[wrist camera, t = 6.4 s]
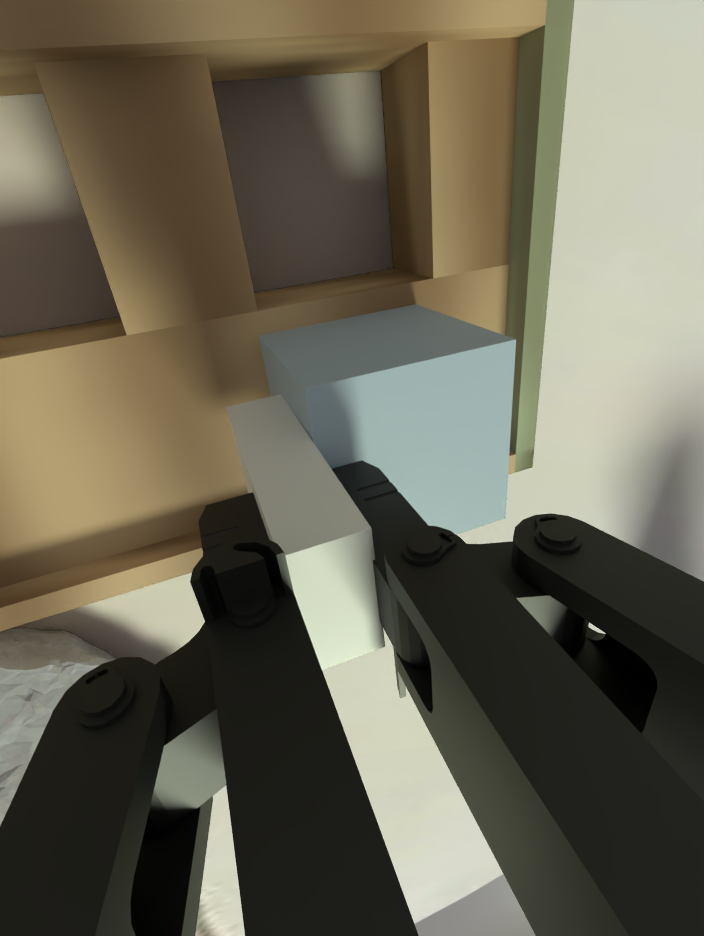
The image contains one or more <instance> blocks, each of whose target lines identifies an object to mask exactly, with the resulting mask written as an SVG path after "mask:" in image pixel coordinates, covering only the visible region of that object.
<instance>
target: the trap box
mask: <svg viewBox="0 0 704 936" xmlns="http://www.w3.org/2000/svg"><path fill="white" fill-rule="evenodd" d="M573 8H574V0H0V96H7V95H22V94H37V93H44V96H45V98H46V101H47V104H48V107H49V110H50V113H51V116H52V119H53V122H54V125H55V128H56V130H57V133H58V136H59V139H60V142H61V145H62V148H63V151H64V154H65V157H66V160H67V163H68V165H69V168H70V171H71V174H72V177H73V180H74V183H75V186H76V189H77V192H78V195H79V197H80V200H81V203H82V206H83V209H84V212H85V215H86V218H87V221H88V224H89V227H90V230H91V232H92V235H93V238H94V241H95V244H96V247H97V250H98V253H99V256H100V259H101V262H102V264H103V267H104V270H105V273H106V276H107V279H108V282H109V285H110V288H111V291H112V294H113V297H114V299H115V302H116V305H117V308H118V311H119V314H120V317H116V318H110V319H105V320H99V321H93V322H87V323H82V324H76V325H70V326H65V327H59V328H53V329H48V330H42V331H36V332H31V333H25V334H19V335H14V336H8V337H2V338H0V631H4V630H7V629H10V628H13V627H17V626H20V625H23V624H26V623H29V622H33V621H36V620H39V619H42V618H46V617H49V616H52V615H55V614H59V613H62V612H65V611H68V610H72V609H75V608H78V607H81V606H85V605H88V604H91V603H94V602H97V601H101V600H104V599H107V598H110V597H114V596H117V595H120V594H123V593H127V592H130V591H133V590H136V589H140V588H143V587H146V586H149V585H152V584H156V583H159V582H162V581H165V580H169V579H172V578H175V577H178V576H182V575H185V574H188V573H191V572H192V571H193V568H194V567H195V566H196V564H197V563H198V562H199V560H200V559H201V558H202V557H203V550H202V544H201V537H200V529H199V522H198V521H199V519H200V517H201V515H202V513H203V511H204V509H205V507H206V505H209V504H212V503H216V502H219V501H223V500H227V499H230V498H234V497H237V496H241V495H245V494H248V490H247V486H246V482H245V479H244V475H243V471H242V467H241V463H240V460H239V456H238V452H237V448H236V444H235V441H234V437H233V433H232V429H231V425H230V422H229V418H228V414H227V410H226V407H228V406H233V405H237V404H241V403H245V402H250V401H254V400H258V399H263V398H267V397H271V394H270V389H269V384H268V379H267V375H266V370H265V365H264V360H263V355H262V350H261V345H260V341H259V335H264V334H269V333H274V332H279V331H284V330H289V329H294V328H299V327H304V326H309V325H314V324H319V323H324V322H330V321H335V320H340V319H345V318H350V317H355V316H360V315H365V314H370V313H375V312H380V311H385V310H390V309H395V308H400V307H405V306H410V305H415V304H417V305H419V306H422V307H425V308H428V309H431V310H434V311H436V312H439V313H442V314H445V315H448V316H451V317H454V318H456V319H459V320H462V321H465V322H468V323H471V324H474V325H476V326H479V327H482V328H485V329H488V330H491V331H494V332H496V333H499V334H502V335H505V336H508V337H511V338H513V339H516V350H515V367H514V383H513V400H512V417H511V433H510V450H509V467H508V475H509V474H512V473H515V472H518V471H522V470H525V469H528V468H531V467H532V465H533V454H534V443H535V432H536V421H537V410H538V399H539V387H540V376H541V365H542V354H543V343H544V332H545V320H546V309H547V298H548V287H549V276H550V265H551V253H552V242H553V231H554V220H555V209H556V198H557V187H558V175H559V164H560V153H561V142H562V131H563V120H564V108H565V97H566V86H567V75H568V64H569V53H570V42H571V30H572V19H573ZM380 70H381V78H382V94H383V110H384V126H385V142H386V158H387V174H388V190H389V207H390V223H391V239H392V255H393V269H388V270H383V271H377V272H371V273H365V274H360V275H354V276H348V277H343V278H337V279H331V280H326V281H320V282H314V283H309V284H303V285H297V286H292V287H286V288H280V289H275V290H269V291H263V292H258V293H254V290H253V285H252V280H251V275H250V270H249V265H248V260H247V255H246V250H245V245H244V240H243V235H242V230H241V225H240V220H239V215H238V210H237V206H236V201H235V196H234V191H233V186H232V181H231V176H230V171H229V166H228V161H227V156H226V151H225V146H224V141H223V136H222V131H221V126H220V121H219V117H218V112H217V107H216V102H215V97H214V92H213V87H212V82H216V81H231V80H246V79H261V78H276V77H291V76H306V75H321V74H336V73H350V72H365V71H380Z"/></svg>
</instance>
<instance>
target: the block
mask: <svg viewBox="0 0 704 936" xmlns="http://www.w3.org/2000/svg"><path fill="white" fill-rule="evenodd" d="M259 341H260V345H261V350H262V355H263V360H264V365H265V370H266V375H267V379H268V384H269V389H270V394H271V396H276V395H280V394H281V395H282V397H283V398H284V400H285V401H286V403H287V404H288V406H289V407H290V409H291V410H292V412H293V413H294V414H295V416H296V417H297V419H298V420H299V422H300V423H301V425H302V426H303V428H304V429H305V431H306V432H307V434H308V435H309V437H310V438H311V440H312V441H313V443H314V444H315V446H316V447H317V448H318V450H319V451H320V453H321V454H322V456H323V457H324V459H325V460H326V462H327V463H328V465H329V466H330V468H331V469H332V468H336V467H340V466H343V465H347V464H350V463H354V462H358V461H361V460H362V461H364V462H367V463H369V464H371V465H373V466H375V467H378V468H379V469H380V470H381V471H382V472H383V473H384V475H385V476H386V477H387V478H388V479H389V482H391V483H392V484H393V485H394V486H395V487H396V488H397V490H398V492H400V493H401V494H402V495H403V497H404V498H405V499H406V500H407V501H408V502H409V504H410V505H411V506H412V507H413V508H414V509H415V510H416V512H417V513H418V514H419V515H420V516H421V517H422V519H423V520H424V521H425V522H426V523H427V524H428V526H438V527H441V528H444V529H447V530H450V531H452V532H453V533H454V534H456V535H457V534H460V533H463V532H466V531H469V530H472V529H475V528H478V527H481V526H484V525H487V524H490V523H492V522H495V521H498V520H501V519H504V518H505V517H506V500H507V483H508V467H509V450H510V433H511V417H512V400H513V383H514V367H515V350H516V339H513V338H511V337H508V336H505V335H502V334H499V333H496V332H494V331H491V330H488V329H485V328H482V327H479V326H476V325H474V324H471V323H468V322H465V321H462V320H459V319H456V318H454V317H451V316H448V315H445V314H442V313H439V312H436V311H434V310H431V309H428V308H425V307H422V306H419V305H417V304H415V305H410V306H405V307H400V308H395V309H390V310H385V311H380V312H375V313H370V314H365V315H360V316H355V317H350V318H345V319H340V320H335V321H330V322H324V323H319V324H314V325H309V326H304V327H299V328H294V329H289V330H284V331H279V332H274V333H269V334H264V335H259Z"/></svg>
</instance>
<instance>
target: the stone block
mask: <svg viewBox="0 0 704 936" xmlns="http://www.w3.org/2000/svg"><path fill="white" fill-rule="evenodd" d="M116 659H117V658H115V657H114V656H112V655H111V654H109V653H108V652H106V651H104V650H102V649H99V648H97V647H94V646H93V645H91V644H88V643H87V642H85V641H83V640H82V639H80V638H79V637H78V636H76V635H75V634H72V633H69V632H67V631H64V630H60V631H48V630H36V629H27V628H10V629H7V630H4V631H0V825H1V823H2V821H3V819H4V817H5V814H6V812H7V810H8V808H9V806H10V804H11V801H12V799H13V797H14V795H15V793H16V791H17V788H18V786H19V784H20V782H21V780H22V777H23V775H24V773H25V771H26V769H27V767H28V764H29V762H30V760H31V758H32V756H33V754H34V751H35V749H36V747H37V745H38V743H39V740H40V738H41V736H42V734H43V732H44V730H45V727H46V725H47V723H48V721H49V719H50V717H51V714H52V712H53V710H54V708H55V707H56V705H57V704H58V702H59V701H60V699H61V698H62V696H63V695H64V693H65V692H66V690H68V689H69V688H70V687H71V686H72V685H73V684H74V683H75V682H76V681H77V680H78V679H79V678H80V677H82V676H83V675H84V674H86V673H87V672H89V671H91V670H93V669H94V668H96V667H98V666H99V665H101V664H103V663H106V662H109V661H112V660H116Z"/></svg>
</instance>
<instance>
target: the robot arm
mask: <svg viewBox="0 0 704 936" xmlns="http://www.w3.org/2000/svg"><path fill="white" fill-rule="evenodd" d="M226 410H227V414H228V418H229V422H230V425H231V429H232V433H233V437H234V441H235V444H236V448H237V452H238V456H239V460H240V463H241V467H242V471H243V475H244V479H245V482H246V486H247V490H248V494H245V495H241V496H237V497H234V498H230V499H227V500H223V501H219V502H216V503H212V504H209V505H206V507H205V509H204V511H203V513H202V515H201V517H200V519H199V521H198V522H199V529H200V537H201V544H202V550H203V557H202V558H201V559H200V560H199V562H198V563H197V564H196V566H195V567H194V568H193V571H192V576H191V581H190V583H191V585H192V588H193V591H194V593H195V596H196V598H197V601H198V604H199V606H200V609H201V612H202V614H203V617H204V620H205V623H204V624H203V626H202V627H201V629H200V630H199V632H198V633H197V634H196V635H195V636H194V637H193V638H192V639H191V640H190V641H189V642H188V643H187V644H185V645H184V646H183V647H181V648H180V649H179V650H177V651H176V652H174V653H173V654H171V655H169V656H168V657H166V658H165V659H163V660H161V661H160V662H158V663H157V664H155V665H154V664H153V663H151V662H149V661H147V660H144V659H142V658H140V657H122V658H119V659H116V660H112V661H109V662H106V663H103V664H101V665H99V666H98V667H96V668H94V669H93V670H91V671H89V672H87V673H86V674H84V675H83V676H82V677H80V678H79V679H78V680H77V681H76V682H75V683H74V684H73V685H72V686H71V687H70V688H69V689H68V690H66V692H65V693H64V695H63V696H62V698H61V699H60V701H59V702H58V704H57V705H56V707H55V708H54V710H53V712H52V714H51V717H50V719H49V721H48V723H47V725H46V727H45V730H44V732H43V734H42V736H41V738H40V740H39V743H38V745H37V747H36V749H35V751H34V754H33V756H32V758H31V760H30V762H29V764H28V767H27V769H26V771H25V773H24V775H23V777H22V780H21V782H20V784H19V786H18V788H17V791H16V793H15V795H14V797H13V799H12V801H11V804H10V806H9V808H8V810H7V812H6V814H5V817H4V819H3V821H2V823H1V825H0V936H195V932H196V925H197V917H198V909H199V902H200V894H201V886H202V878H203V871H204V863H205V855H206V848H207V840H208V832H209V825H210V817H211V809H212V802H213V795H214V794H216V793H217V792H218V791H219V790H220V789H222V788H223V787H224V786H225V785H226V786H227V794H228V802H229V809H230V817H231V825H232V833H233V841H234V849H235V857H236V865H237V873H238V881H239V889H240V897H241V905H242V913H243V921H244V929H245V936H418V933H417V930H416V927H415V925H414V922H413V919H412V916H411V914H410V911H409V908H408V905H407V903H406V900H405V897H404V894H403V892H402V889H401V886H400V883H399V881H398V878H397V875H396V872H395V870H394V867H393V864H392V861H391V859H390V856H389V853H388V850H387V848H386V845H385V842H384V839H383V837H382V834H381V831H380V828H379V826H378V823H377V820H376V817H375V815H374V812H373V809H372V806H371V804H370V801H369V798H368V795H367V793H366V790H365V787H364V784H363V782H362V779H361V776H360V773H359V771H358V768H357V765H356V763H355V760H354V757H353V754H352V752H351V749H350V746H349V743H348V741H347V738H346V735H345V732H344V730H343V727H342V724H341V721H340V719H339V716H338V713H337V710H336V708H335V705H334V702H333V699H332V697H331V694H330V691H329V688H328V686H327V683H326V680H325V677H324V675H323V672H322V670H324V669H327V668H329V667H332V666H335V665H337V664H340V663H342V662H345V661H348V660H350V659H353V658H356V657H358V656H361V655H364V654H366V653H369V652H371V651H374V650H377V649H379V648H382V647H385V641H384V633H383V628H384V630H385V632H386V634H387V635H388V637H389V639H390V641H391V643H392V645H393V647H394V657H395V667H396V677H397V686H398V690H399V694H400V698H403V697H405V696H406V688H405V686H406V687H407V689H408V691H409V693H410V695H411V697H412V699H413V701H414V703H415V705H416V707H417V709H418V711H419V712H420V714H421V716H422V718H423V720H424V722H425V724H426V726H427V728H428V730H429V732H430V734H431V735H432V737H433V739H434V741H435V743H436V745H437V747H438V749H439V751H440V753H441V755H442V757H443V758H444V760H445V762H446V764H447V766H448V768H449V770H450V772H451V774H452V776H453V778H454V780H455V781H456V783H457V785H458V787H459V789H460V791H461V793H462V795H463V797H464V799H465V801H466V803H467V805H468V806H469V808H470V810H471V812H472V814H473V816H474V818H475V820H476V822H477V824H478V826H479V828H480V829H481V831H482V833H483V835H484V837H485V839H486V841H487V843H488V845H489V847H490V849H491V851H492V852H493V854H494V856H495V858H496V860H497V862H498V864H499V866H500V868H501V870H502V872H503V874H504V875H505V877H506V879H507V881H508V883H509V885H510V887H511V889H512V891H513V893H514V895H515V896H516V898H517V900H518V902H519V904H520V906H521V908H522V910H523V912H524V914H525V916H526V918H527V920H528V921H529V923H530V925H531V927H532V929H533V931H534V933H535V935H536V936H704V582H703V581H701V580H699V579H697V578H695V577H693V576H691V575H689V574H687V573H685V572H683V571H681V570H679V569H677V568H675V567H673V566H671V565H669V564H667V563H665V562H663V561H661V560H659V559H657V558H655V557H653V556H651V555H649V554H647V553H645V552H643V551H641V550H639V549H637V548H635V547H633V546H631V545H629V544H627V543H625V542H623V541H621V540H619V539H617V538H615V537H613V536H611V535H609V534H607V533H605V532H603V531H601V530H599V529H597V528H595V527H593V526H591V525H589V524H587V523H585V522H583V521H580V520H578V519H575V518H572V517H569V516H564V515H557V514H542V515H534V516H532V517H529V518H526V519H524V520H522V521H521V522H520V523H519V524H518V525H517V526H516V527H515V531H514V536H513V542H501V543H490V544H466V543H465V542H464V541H463V540H462V539H461V538H460V537H459V536H457V535H456V534H454V533H453V532H452V531H450V530H447V529H444V528H441V527H438V526H428V524H427V523H426V522H425V521H424V520H423V519H422V517H421V516H420V515H419V514H418V513H417V512H416V510H415V509H414V508H413V507H412V506H411V505H410V504H409V502H408V501H407V500H406V499H405V498H404V497H403V495H402V494H401V493H400V492H398V490H397V488H396V487H395V486H394V485H393V484H392V483H391V482H389V479H388V478H387V477H386V476H385V475H384V473H383V472H382V471H381V470H380V469H379V468H378V467H375V466H373V465H371V464H369V463H367V462H364V461H362V460H361V461H358V462H354V463H350V464H347V465H343V466H340V467H336V468H332V469H331V468H330V466H329V465H328V463H327V462H326V460H325V459H324V457H323V456H322V454H321V453H320V451H319V450H318V448H317V447H316V446H315V444H314V443H313V441H312V440H311V438H310V437H309V435H308V434H307V432H306V431H305V429H304V428H303V426H302V425H301V423H300V422H299V420H298V419H297V417H296V416H295V414H294V413H293V412H292V410H291V409H290V407H289V406H288V404H287V403H286V401H285V400H284V398H283V397H282V395H281V394H280V395H276V396H271V397H267V398H263V399H258V400H254V401H250V402H245V403H241V404H237V405H233V406H228V407H226ZM589 622H590V623H591V624H593V625H594V626H596V627H597V628H599V629H600V630H602V631H603V632H605V633H606V634H602V633H598V632H596V631H594V630H592V629H590V628H589V627H588V624H589Z"/></svg>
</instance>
